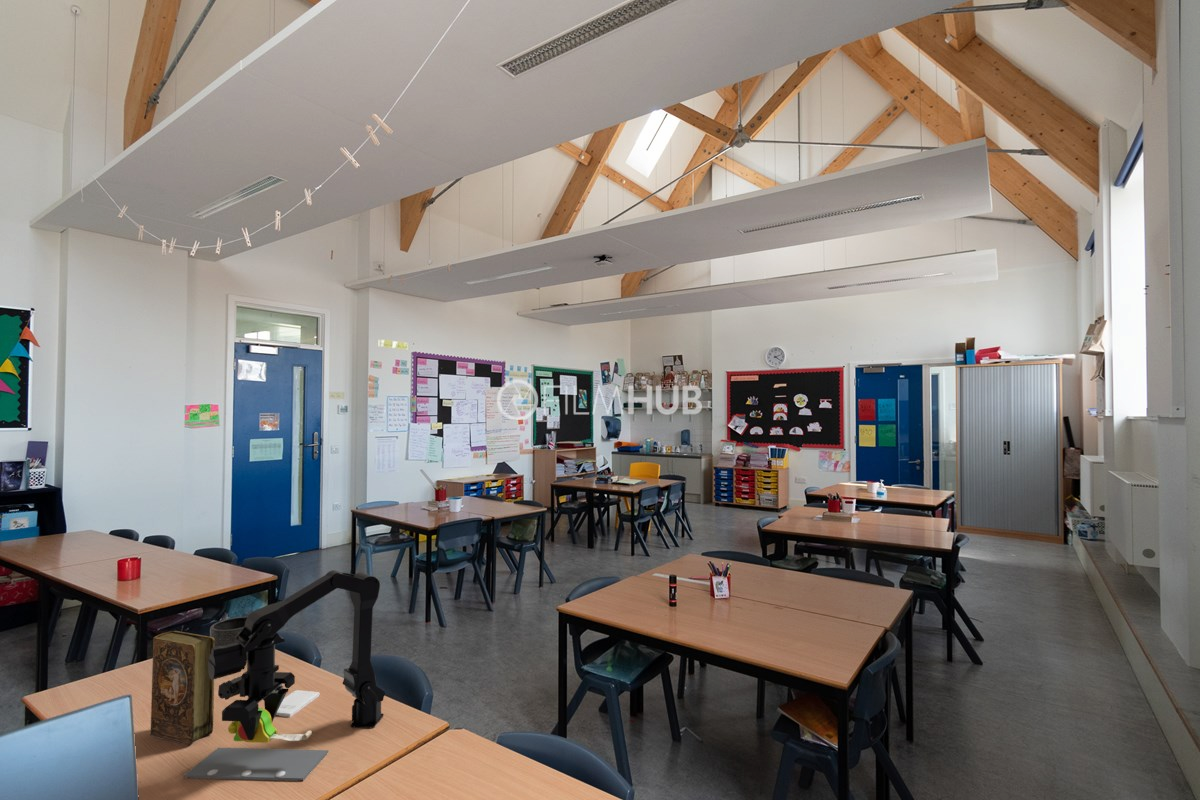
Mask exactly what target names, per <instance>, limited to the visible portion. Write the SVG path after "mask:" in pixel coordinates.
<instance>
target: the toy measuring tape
mask: <svg viewBox="0 0 1200 800" xmlns="http://www.w3.org/2000/svg"><path fill="white" fill-rule="evenodd" d="M258 711H262V714H261V717H260V720H259V724H258V727H257V730H256V734H255V736H254V739H253V740H248V738H247V736H246V734H245V731H244V729H243V727H242V725H241V723H240V721H231V723H230V724H229V726H228V728H227V731H228V733H229V734H231V735H233V734H234V736H233V741H235V742H245V743H259V744H260V743H261V744H262V743H265V744H267V743H269V742H270V741H271V740H274V739H275V740H276V739H277V740H282V741H285V742H301V741H302V740H303V741H304V742H305V741H306V740H308V738H310V736H311V735H312V734H313V733H312V730H307V731H306V732H305V733H303V734H302V733H299V734H297V733H296V734H295V733H293V734H278V729H277V728H276V727H275V726H274V724H273V722H272V719H271V715H270V713H269V712H268V711H267V710H265V708H263V707H258Z"/></svg>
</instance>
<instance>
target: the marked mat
mask: <svg viewBox="0 0 1200 800" xmlns="http://www.w3.org/2000/svg"><path fill="white" fill-rule="evenodd" d="M328 752H329V750H328V749H298V748H297V749H295V748H293V749H291V748H257V747H256V748H253V747H252V748H251V747H248V748H247V747H217V748H215V750H213V751H212V752H211V753H209V754H208V755H207V756H206V757H204V758H203V759H202V760H201V761H200V762H198V763H197V764H196V765H195V766H193V767H192V768H191V769H190V770H188V771H187V772H186V773H184V774H183V778H184V777H190V778H189V779H209V780H211V779H216V780H217V779H218V780H245V781H246V780H248V781H249V780H251V781H256V780H257V781H282V780H291V781H293V782H295V781H296V782H299V781H298V780H304V781H305V780H306V779H307V777H308V776H309V775H310V774H311V773H312V772H313V771H314V769H316V767H317V766H318V765H319V764H320V763H321V762H322V761H323V760H324V758H325V757H326V756H327V755H328V754H329V753H328ZM327 753H328V754H327ZM321 760H322V761H321ZM311 771H312V772H311ZM310 772H311V773H310ZM291 781H290V782H291Z"/></svg>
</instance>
